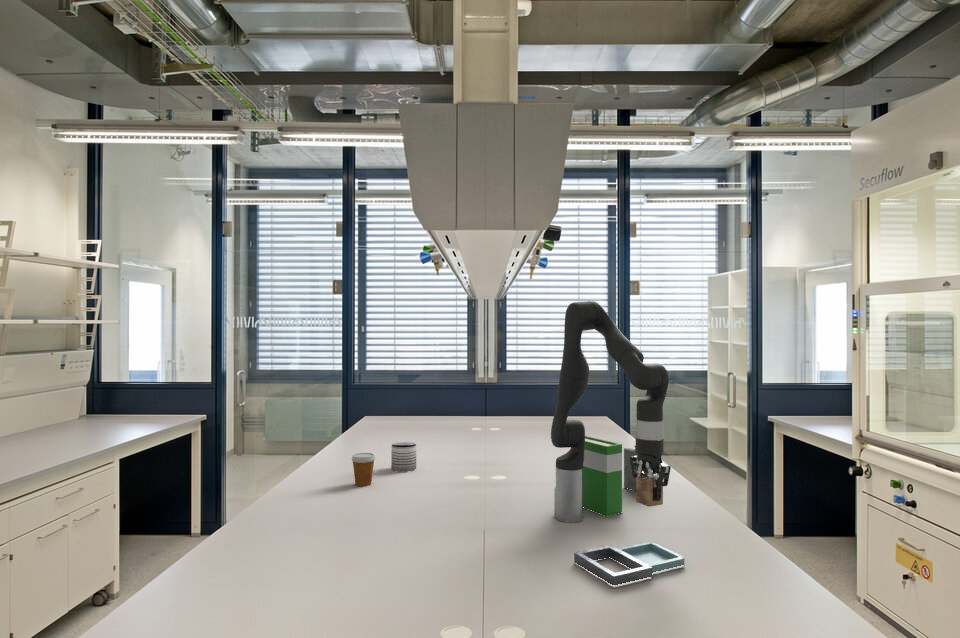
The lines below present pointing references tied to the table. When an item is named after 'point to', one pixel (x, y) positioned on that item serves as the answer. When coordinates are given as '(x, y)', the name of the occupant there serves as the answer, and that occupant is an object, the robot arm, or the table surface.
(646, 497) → the walnut block
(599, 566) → the holder
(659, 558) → the tray
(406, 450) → the can
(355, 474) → the disposable coffee cup
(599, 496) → the hardback book
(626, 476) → the flask
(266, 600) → the table surface
